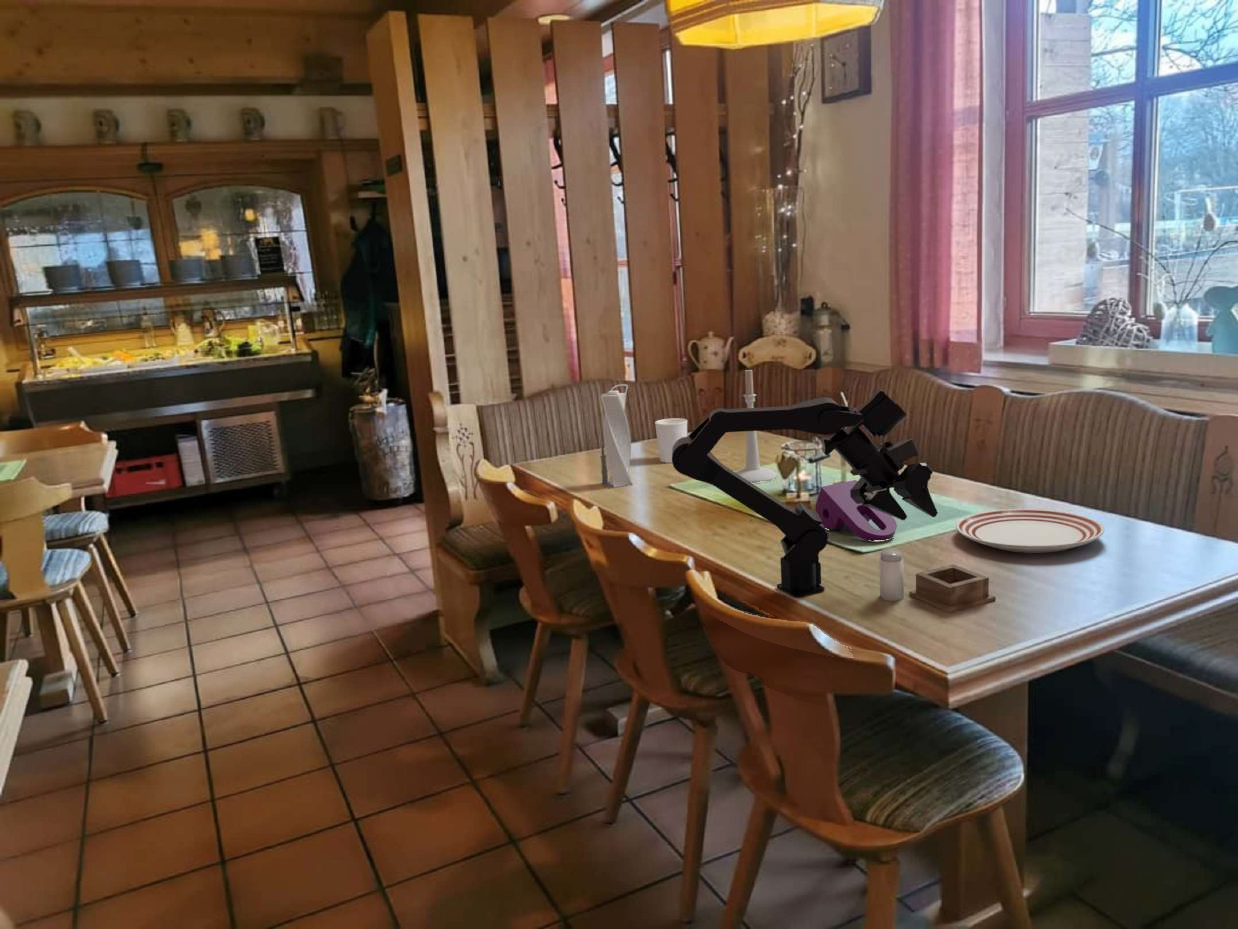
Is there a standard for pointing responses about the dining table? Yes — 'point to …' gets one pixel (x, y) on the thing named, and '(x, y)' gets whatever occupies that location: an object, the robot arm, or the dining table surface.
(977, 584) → the box
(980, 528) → the dinner plate
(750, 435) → the candlestick
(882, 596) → the salt shaker
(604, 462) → the skyscraper
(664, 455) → the white cup
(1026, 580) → the dining table surface
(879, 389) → the robot arm
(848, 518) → the mounting bracket
